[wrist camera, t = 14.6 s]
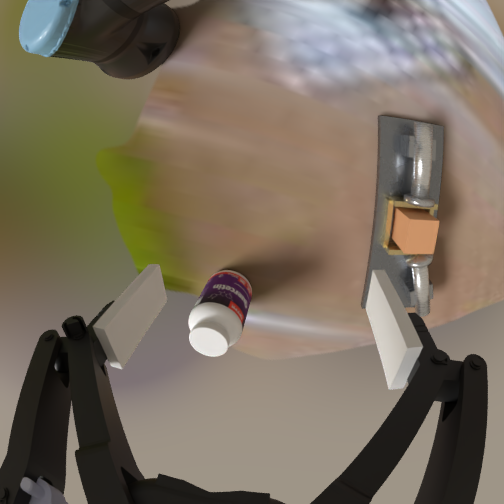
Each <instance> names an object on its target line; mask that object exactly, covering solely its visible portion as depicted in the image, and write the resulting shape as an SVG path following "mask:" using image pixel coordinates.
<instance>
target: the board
mask: <svg viewBox="0 0 504 504" xmlns="http://www.w3.org/2000/svg"><path fill="white" fill-rule="evenodd" d="M414 122H419V123H425V122H420V121H414V120H408V119H402V118H395V117H388V116H378V164H377V184H376V198H375V210H374V220H373V230H372V238H371V246H370V253H369V260H368V267H367V273H366V279H365V285H364V291H363V296H362V301H361V307H362V308H366V303H367V298H368V293H369V288H370V283H371V277H372V271H373V270H385V272H386V274H387V275H388V277H389V279H390V281H391V283H392V285H393V286H394V288H395V290H396V292H397V294H398V296H399V298H400V300H401V302H402V304H403V306H404V307H415V305H414V306H411V305H410V303H409V301H408V299H407V298H406V295H405V286H404V282H406V281H409V280H412V279H413V276H412V268H410V267H408V266H407V265H406V264H405V260H404V255H418V254H404V253H403V251H402V250H401V249H400V248H399V246H398V245H397V244H396V243H395V241H394V240H393V239H392V238H391V237H392V230H393V222H394V213H395V207H406V208H420V209H424V210H425V211H427V212H428V213H429V214H431V215H432V216H433V217H435V218H436V217H437V211H438V203H439V195H440V186H441V176H442V162H443V138H444V126H440V125H435V124H431V125H433V140H436V157H435V161H433V160H432V167H431V180H430V190H429V197H431V198H433V199H434V200H435V204H434V207H431V208H427V207H419V206H415V205H411V204H408V203H406V202H404V201H403V198H404V194H405V193H411V184H412V171H413V158H412V157H407V156H403V155H401V135H408V136H414ZM426 124H430V123H426Z"/></svg>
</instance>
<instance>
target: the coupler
mask: <svg viewBox="0 0 504 504" xmlns="http://www.w3.org/2000/svg"><path fill="white" fill-rule="evenodd" d="M438 227H439V220H437V219H436V218H435V217H433V216H432V215H431V214H429V213H428V212H427V211H425V210H424V209H420V208H406V207H395V213H394V222H393V230H392V237H391V238H392V239H393V240H394V241H395V243H396V244H397V245H398V246H399V248H400V249H401V250H402V251H403V253H404V254H433V253H434V248H435V244H436V238H437V233H438Z"/></svg>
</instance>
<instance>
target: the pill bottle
mask: <svg viewBox="0 0 504 504" xmlns="http://www.w3.org/2000/svg"><path fill="white" fill-rule="evenodd" d="M251 297H252V288H251V285H250V283H249V281H248V280H247V279H246V278H245V277H244V276H243V275H242V274H240V273H238V272H235V271H231V270H223V271H219V272H217V273H215V274H213V275H212V276H211V277H210V279H209V280H208V282H207V284H206V286H205V288H204V290H203V291H202V293H201V295H200V297H199V299H198V301H197V302H196V304H195V306H194V308H193V310H192V311H191V314H190V316H189V328H190V331H191V333H190V335H189V340H190V343H191V345H192V346H193V348H194V349H195V350H197V351H198V352H200V353H201V354H204V355H207V356H212V357H214V356H220V355H223V354H224V353H225V352H226V351H227V349H228V347H229V346H232V345H233V344H235V343H236V342H237V341H238V340H239V338H240V336H241V334H242V330H243V327H244V323H245V319H246V316H247V312H248V308H249V305H250V301H251Z"/></svg>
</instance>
